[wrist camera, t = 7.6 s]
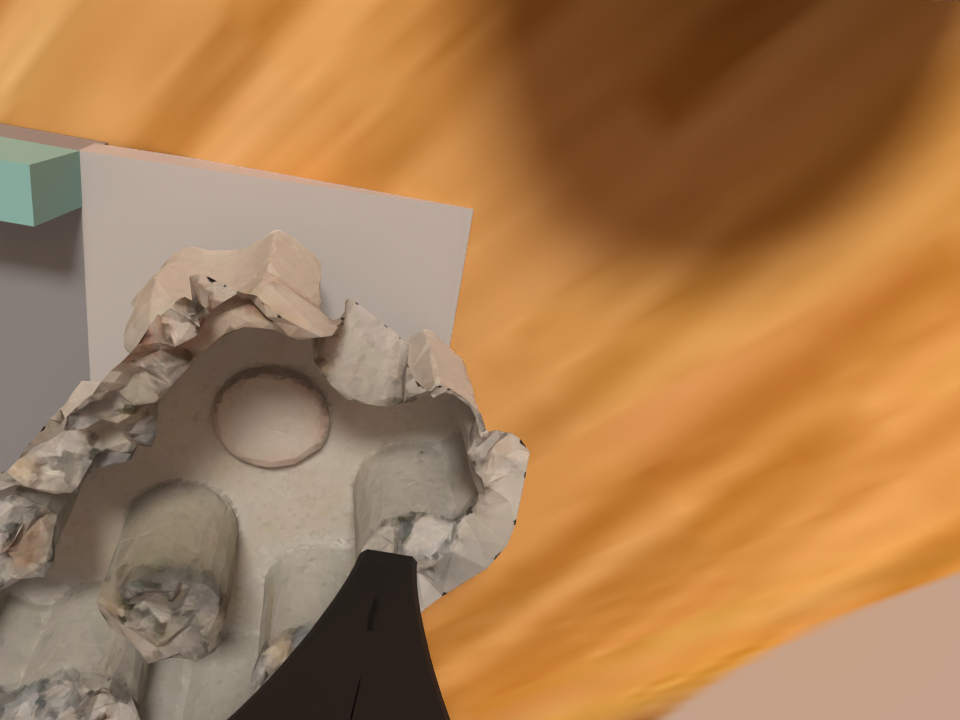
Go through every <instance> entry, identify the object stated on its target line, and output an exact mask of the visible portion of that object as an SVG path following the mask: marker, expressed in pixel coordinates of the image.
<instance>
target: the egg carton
mask: <svg viewBox="0 0 960 720" xmlns="http://www.w3.org/2000/svg"><path fill="white" fill-rule="evenodd" d="M320 281H321V263H320V261H319V260H318V258H317V257H316V256H315V254H314V253H313V252H312V251H310V250H309V249H307V248H305V247H304V246H303V245H302V244H300V243H299V242H298V241H297V240H296V239H295V238H294V237H292V236H290V235H288V234H286V233H284V232H283V231H281V230H275V231H272V232H271V233H269V234H268V235H267V236H266V237H264V238H262V239H260V240H259V241H257V242H255V243H253V244H251V245H250V246H248V247H246V248H243V249H237V250H205V249H201V248H197V247H192V246H190V247H187V248H184V249H181V250H180V251H178V252H176V253H175V254H173V255H172V256H171V257H170V258H168V260H167V261H166V262H165V263H164V264H163V265H162V266H161V268H160V269H159V271H157V272H156V273H155V274H154V275H153V276H152V278H151V279H150V280H149V281H148V283H147V284H146V285H145V286H144V287H143V288H142V289H141V290H140V291H139V292H138V293H137V295H136V296H135V298H134V299H133V300H132V302H131V303H130V304H131V305H132V306H133V307H134V310H133V313H132V315H131V317H130V319H129V321H128V323H127V324H126V328H125V333H124V347H125V349H126V350H127V351H128V352H129V353H130V354H129V355H128V356H127V357H126V358H125V359H124V360H123V361H122V362H121V363H120V364H118V365H117V366H116V367H115V368H114V369H112V370H111V371H110V372H109V373H108V375H107V376H106V377H105V378H104V379H103V380H102V381H101V382H96V381H81V382H80V384H79V385H78V386H77V388H76V389H75V390H74V391H73V393H72V394H71V396H70V397H69V399H68V401H67V402H66V404H65V405H64V406H63V407H61V408H60V409H59V410H58V411H57V413H56V414H55V415H53V416H52V417H51V418H50V419H49V420H48V422H47V423H46V424H45V426H44V427H43V428H42V430H41V431H40V432H39V433H38V435H37V436H36V437H35V438H34V439H33V440H32V441H31V442H30V443H29V445H28V446H27V447H26V449H25V450H24V452H23V453H22V454H21V456H20V457H19V459H18V460H17V461H16V462H15V463H14V464H13V465H12V466H11V468H10V469H9V470H8V471H3V472H2V473H1V474H0V720H227V719H228V718H229V717H230V716H231V715H233V714H234V713H235V712H236V711H237V710H238V709H239V708H240V707H241V706H242V705H243V704H244V703H245V702H246V701H247V700H248V699H249V698H250V697H251V696H252V695H253V694H254V693H255V692H256V691H257V690H258V689H259V688H260V687H261V686H262V685H263V684H264V683H265V682H266V681H267V680H268V679H269V678H270V677H271V676H272V675H273V674H274V672H275V671H276V670H277V669H278V668H279V667H280V666H281V665H282V664H283V662H284V661H285V660H286V659H287V658H288V657H289V655H290V654H291V653H292V652H293V651H294V649H295V648H296V647H297V646H298V645H299V644H300V642H301V641H302V640H303V639H304V638H305V636H306V635H307V634H308V633H309V632H310V630H311V629H312V628H313V626H314V625H315V624H316V622H317V621H318V620H319V618H320V617H321V616H322V614H323V613H324V611H325V610H326V609H327V607H328V606H329V605H330V603H331V602H332V601H333V599H334V598H335V596H336V595H337V593H338V592H339V590H340V589H341V587H342V586H343V584H344V582H345V581H346V579H347V577H348V576H349V574H350V572H351V571H352V569H353V567H354V565H355V563H356V561H357V559H358V557H359V554H360V553H361V552H363V551H364V550H366V549H370V550H377V551H383V552H389V553H395V554H401V555H407V556H413V558H414V559H415V560H416V561H417V588H418V597H419V604H420V611H421V613H422V611H423V610H424V609H426V608H427V607H428V606H430V605H431V604H432V603H434V602H435V601H436V600H438V599H439V598H440V597H442V596H443V595H445V594H447V593H448V592H450V591H451V590H453V589H455V588H456V587H458V586H459V585H461V584H463V583H464V582H466V581H467V580H469V579H471V578H472V577H474V576H475V575H477V574H479V573H480V572H482V571H484V570H485V569H487V568H488V567H489V565H490V564H491V563H492V562H493V561H494V560H495V559H496V557H497V556H498V555H499V554H500V553H501V552H502V551H503V549H504V548H505V547H506V546H507V544H508V541H509V539H510V536H511V534H512V531H513V529H514V526H515V524H516V519H517V514H518V509H519V504H520V499H521V495H522V490H523V485H524V480H525V475H526V470H527V464H528V459H529V454H530V452H529V451H528V449H527V448H526V446H525V445H524V444H523V442H522V441H521V439H519V438H518V437H516V436H515V435H514V434H512V433H506V432H501V431H498V430H494V431H491V432H488V431H487V430H486V429H485V425H484V422H483V419H482V416H481V413H480V412H479V411H478V406H477V405H476V402H475V398H474V393H473V387H472V385H471V382H470V380H469V378H468V375H467V371H466V367H465V364H464V362H463V360H462V358H461V357H459V356H458V355H457V354H456V353H455V352H454V351H452V350H451V349H450V348H449V347H448V346H446V345H445V344H444V343H443V342H442V341H441V340H440V339H439V337H438V336H437V335H436V334H435V333H434V332H433V331H432V330H428V329H424V328H423V329H422V330H420V331H419V332H417V333H416V334H414V335H413V336H411V337H410V338H408V339H406V340H405V341H404V340H402V339H401V338H400V337H399V335H398V334H397V333H395V332H394V331H393V330H391V329H390V328H388V327H387V326H386V325H385V324H384V323H382V322H381V321H380V320H379V319H378V318H376V317H375V316H374V315H372V314H371V313H370V312H369V311H367V310H366V309H365V308H363V307H362V306H361V305H359V304H358V303H357V302H355V301H353V300H351V299H348V300H346V301H345V312H344V313H343V314H342V316H341V317H340V318H338V319H335V320H332V319H331V318H330V317H328V316H327V315H326V314H325V313H324V312H322V310H321V309H320V303H321V299H320Z"/></svg>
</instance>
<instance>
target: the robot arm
mask: <svg viewBox="0 0 960 720" xmlns="http://www.w3.org/2000/svg"><path fill="white" fill-rule="evenodd" d="M227 720H450V718H449V715H448V712H447V709H446V707H445V704H444V701H443V698H442V695H441V692H440V688H439V685H438V682H437V679H436V675H435V672H434V668H433V665H432V661H431V657H430V653H429V649H428V645H427V640H426V636H425V632H424V627H423V622H422V617H421V611H420V604H419V597H418V588H417V561H416V560H415V559H414V558H413V556H407V555H401V554H395V553H389V552H383V551H377V550H370V549H366V550H364V551H363V552H361V553H360V554H359V557H358V559H357V561H356V563H355V565H354V567H353V569H352V571H351V572H350V574H349V576H348V577H347V579H346V581H345V582H344V584H343V586H342V587H341V589H340V590H339V592H338V593H337V595H336V596H335V598H334V599H333V601H332V602H331V603H330V605H329V606H328V607H327V609H326V610H325V611H324V613H323V614H322V616H321V617H320V618H319V620H318V621H317V622H316V624H315V625H314V626H313V628H312V629H311V630H310V632H309V633H308V634H307V635H306V636H305V638H304V639H303V640H302V641H301V642H300V644H299V645H298V646H297V647H296V648H295V649H294V651H293V652H292V653H291V654H290V655H289V657H288V658H287V659H286V660H285V661H284V662H283V664H282V665H281V666H280V667H279V668H278V669H277V670H276V671H275V672H274V674H273V675H272V676H271V677H270V678H269V679H268V680H267V681H266V682H265V683H264V684H263V685H262V686H261V687H260V688H259V689H258V690H257V691H256V692H255V693H254V694H253V695H252V696H251V697H250V698H249V699H248V700H247V701H246V702H245V703H244V704H243V705H242V706H241V707H240V708H239V709H238V710H237V711H236V712H235V713H234V714H233V715H231V716H230V717H229V718H228V719H227Z"/></svg>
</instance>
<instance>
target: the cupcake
mask: <svg viewBox="0 0 960 720" xmlns="http://www.w3.org/2000/svg"><path fill="white" fill-rule="evenodd" d="M929 1H960V0H929Z"/></svg>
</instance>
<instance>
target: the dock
mask: <svg viewBox="0 0 960 720" xmlns="http://www.w3.org/2000/svg"><path fill="white" fill-rule="evenodd" d="M473 210H474V209H472V208H466V207H461V206H455V205H450V204H444V203H439V202H433V201H428V200H422V199H417V198H411V197H406V196H400V195H395V194H389V193H384V192H378V191H373V190H367V189H362V188H356V187H351V186H345V185H340V184H334V183H329V182H323V181H318V180H312V179H307V178H301V177H296V176H290V175H285V174H279V173H274V172H268V171H263V170H257V169H252V168H246V167H241V166H235V165H230V164H224V163H219V162H213V161H208V160H202V159H197V158H190V157H183V156H177V155H170V154H164V153H157V152H150V151H144V150H137V149H130V148H124V147H117V146H111V145H108V143H106V142H100V141H95V140H89V139H84V138H78V137H73V136H67V135H62V134H56V133H51V132H45V131H40V130H34V129H29V128H23V127H18V126H12V125H7V124H1V123H0V474H1V473H2V472H3V471H8V470H9V469H10V468H11V466H12V465H13V464H14V463H15V462H16V461H17V460H18V459H19V457H20V456H21V454H22V453H23V452H24V450H25V449H26V447H27V446H28V445H29V443H30V442H31V441H32V440H33V439H34V438H35V437H36V436H37V435H38V433H39V432H40V431H41V430H42V428H43V427H44V426H45V424H46V423H47V422H48V420H49V419H50V418H51V417H52V416H53V415H55V414H56V413H57V411H58V410H59V409H60V408H61V407H63V406H64V405H65V404H66V402H67V401H68V399H69V397H70V396H71V394H72V393H73V391H74V390H75V389H76V388H77V386H78V385H79V384H80V382H81V381H96V382H101V381H102V380H103V379H104V378H105V377H106V376H107V375H108V373H109V372H110V371H111V370H112V369H114V368H115V367H116V366H117V365H118V364H120V363H121V362H122V361H123V360H124V359H125V358H126V357H127V356H128V355H129V354H130V353H129V352H128V351H127V350H126V349H125V347H124V333H125V328H126V324H127V323H128V321H129V319H130V317H131V315H132V313H133V310H134V307H133V306H132V305H131V304H130V303H131V302H132V300H133V299H134V298H135V296H136V295H137V293H138V292H139V291H140V290H141V289H142V288H143V287H144V286H145V285H146V284H147V283H148V281H149V280H150V279H151V278H152V276H153V275H154V274H155V273H156V272H157V271H159V269H160V268H161V266H162V265H163V264H164V263H165V262H166V261H167V260H168V258H170V257H171V256H172V255H173V254H175V253H176V252H178V251H180V250H181V249H184V248H187V247H190V246H192V247H197V248H201V249H205V250H237V249H243V248H246V247H248V246H250V245H251V244H253V243H255V242H257V241H259V240H260V239H262V238H264V237H266V236H267V235H268V234H269V233H271V232H272V231H275V230H281V231H283V232H284V233H286V234H288V235H290V236H292V237H294V238H295V239H296V240H297V241H298V242H299V243H300V244H302V245H303V246H304V247H305V248H307V249H309V250H310V251H312V252H313V253H314V254H315V256H316V257H317V258H318V260H319V261H320V263H321V281H320V299H321V303H320V309H321V310H322V312H324V313H325V314H326V315H327V316H328V317H330V318H331V319H332V320H335V319H338V318H340V317H341V316H342V314H343V313H344V312H345V301H346V300H348V299H351V300H353V301H355V302H357V303H358V304H359V305H361V306H362V307H363V308H365V309H366V310H367V311H369V312H370V313H371V314H372V315H374V316H375V317H376V318H378V319H379V320H380V321H381V322H382V323H384V324H385V325H386V326H387V327H388V328H390V329H391V330H393V331H394V332H395V333H397V334H398V335H399V337H400V338H401V339H402V340H404V341H405V340H406V339H408V338H410V337H411V336H413V335H414V334H416V333H417V332H419V331H420V330H422V329H423V328H424V329H428V330H432V331H433V332H434V333H435V334H436V335H437V336H438V337H439V339H440V340H441V341H442V342H443V343H444V344H445V345H446V346H448V347H449V348H450V342H451V336H452V331H453V325H454V319H455V313H456V308H457V302H458V296H459V290H460V285H461V279H462V273H463V267H464V262H465V256H466V250H467V244H468V239H469V233H470V227H471V221H472V215H473Z"/></svg>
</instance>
